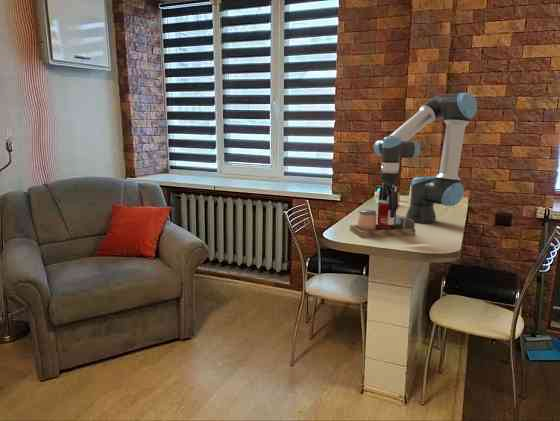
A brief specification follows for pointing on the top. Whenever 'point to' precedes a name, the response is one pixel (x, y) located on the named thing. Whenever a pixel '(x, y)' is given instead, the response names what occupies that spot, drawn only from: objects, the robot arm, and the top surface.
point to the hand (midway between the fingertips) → (386, 222)
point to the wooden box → (385, 230)
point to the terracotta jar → (367, 220)
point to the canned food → (384, 213)
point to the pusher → (399, 223)
